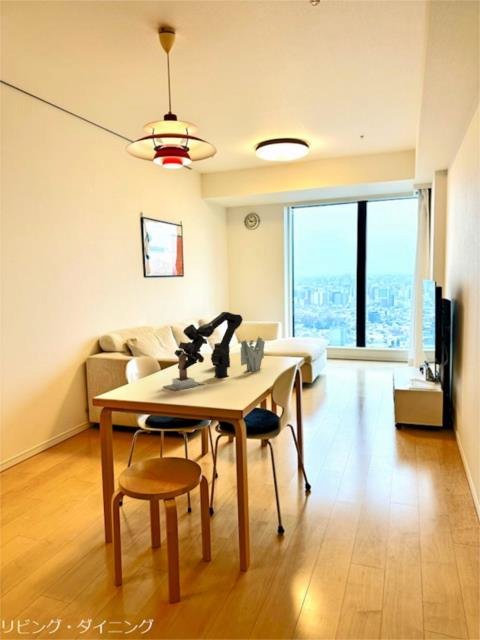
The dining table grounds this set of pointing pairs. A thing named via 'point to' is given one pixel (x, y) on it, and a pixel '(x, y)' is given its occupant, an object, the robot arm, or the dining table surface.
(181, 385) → the grey stand base
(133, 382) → the dining table surface
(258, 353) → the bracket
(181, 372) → the rail post
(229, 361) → the storage jar
